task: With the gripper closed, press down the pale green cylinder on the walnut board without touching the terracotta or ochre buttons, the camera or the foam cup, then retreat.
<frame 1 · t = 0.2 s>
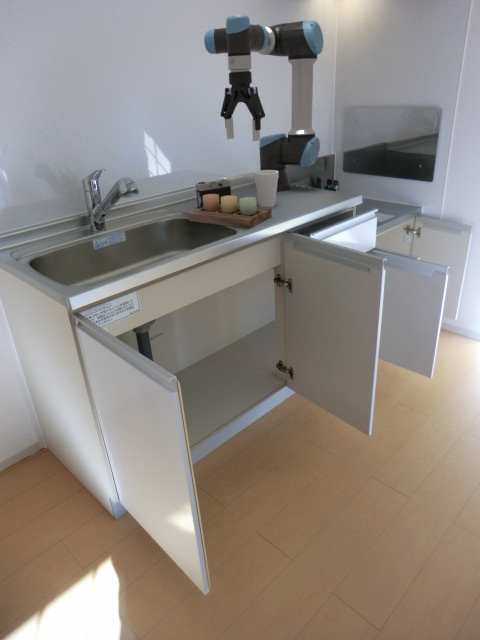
hand: (243, 139, 168), 27 cm above the counter, fingers open, 13 cm apart
terracotta button: (211, 202, 179), point 6 cm above the counter, slide at 0.0 cm
foam cup: (267, 205, 194), on the counter
camera: (212, 205, 200), on the counter
pale green cylinder: (248, 206, 172), point 5 cm above the counter, slide at 0.0 cm
ochre button: (229, 204, 176), point 6 cm above the counter, slide at 0.0 cm
walnut board: (230, 219, 178), on the counter
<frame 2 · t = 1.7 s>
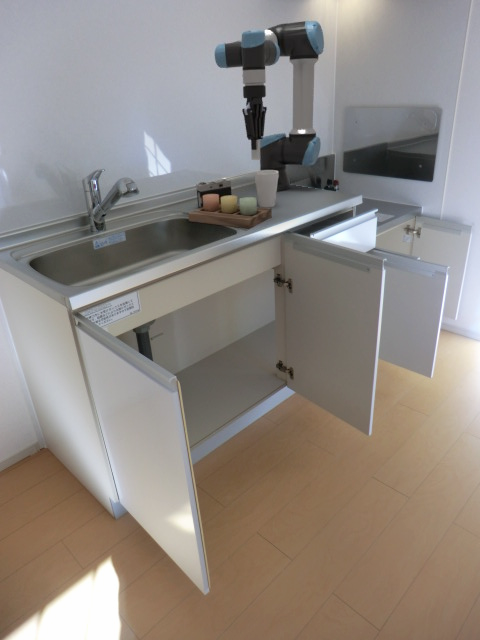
hand: (255, 159, 170), 21 cm above the counter, fingers closed
nothing on the counter moved.
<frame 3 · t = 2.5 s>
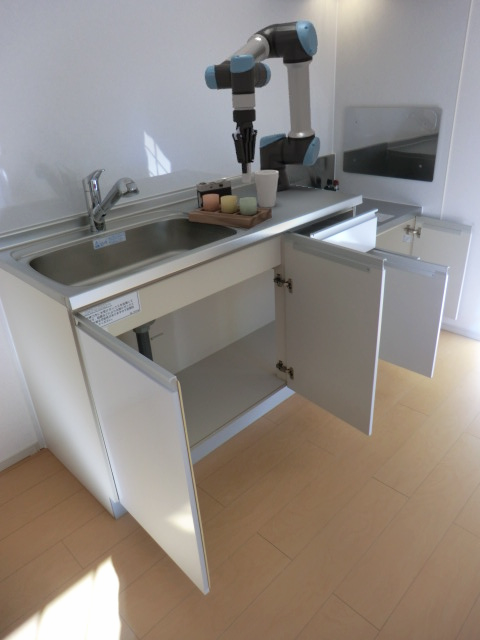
hand: (246, 182, 168), 14 cm above the counter, fingers closed
nothing on the counter moved.
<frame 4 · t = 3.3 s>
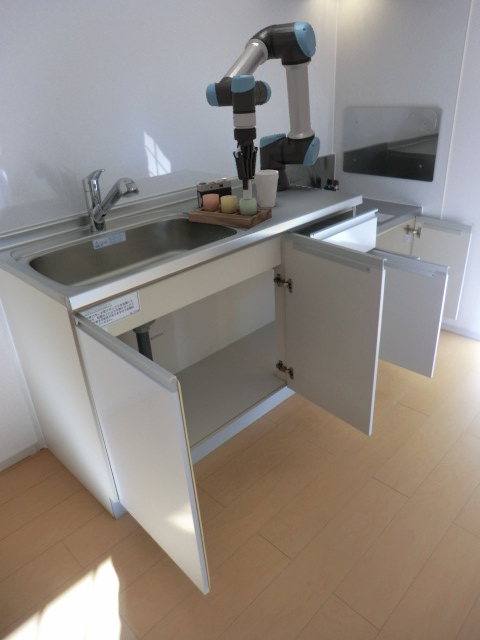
hand: (247, 198, 170), 8 cm above the counter, fingers closed
pale green cylinder: (248, 206, 172), point 5 cm above the counter, slide at -0.1 cm, touching gripper
everything else where it was.
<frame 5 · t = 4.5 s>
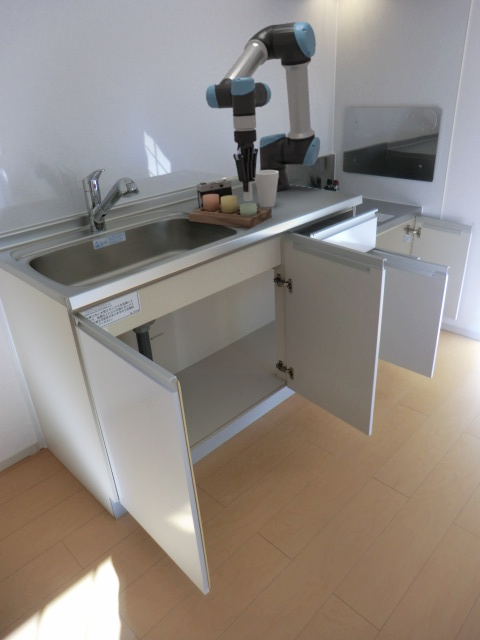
hand: (248, 200, 171), 7 cm above the counter, fingers closed
pale green cylinder: (248, 211, 173), point 3 cm above the counter, slide at -2.1 cm
everything else where it was.
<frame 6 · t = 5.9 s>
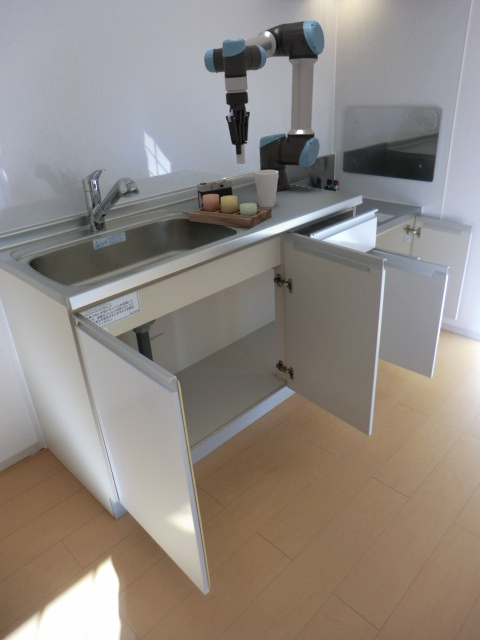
hand: (241, 163, 174), 19 cm above the counter, fingers closed
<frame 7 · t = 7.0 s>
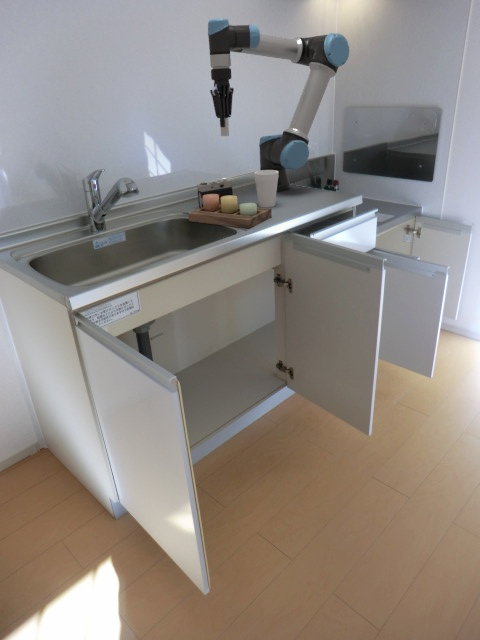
hand: (225, 135, 189), 26 cm above the counter, fingers closed
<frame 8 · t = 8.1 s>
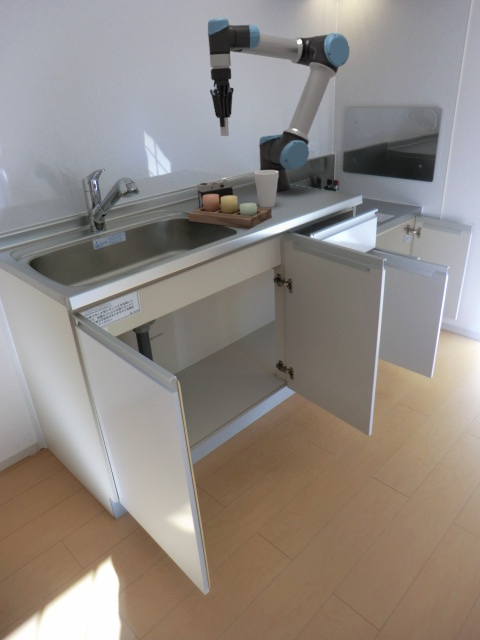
hand: (224, 135, 189), 26 cm above the counter, fingers closed
at the end: pale green cylinder slide at -2.1 cm; terracotta button slide at 0.0 cm; ochre button slide at 0.0 cm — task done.
